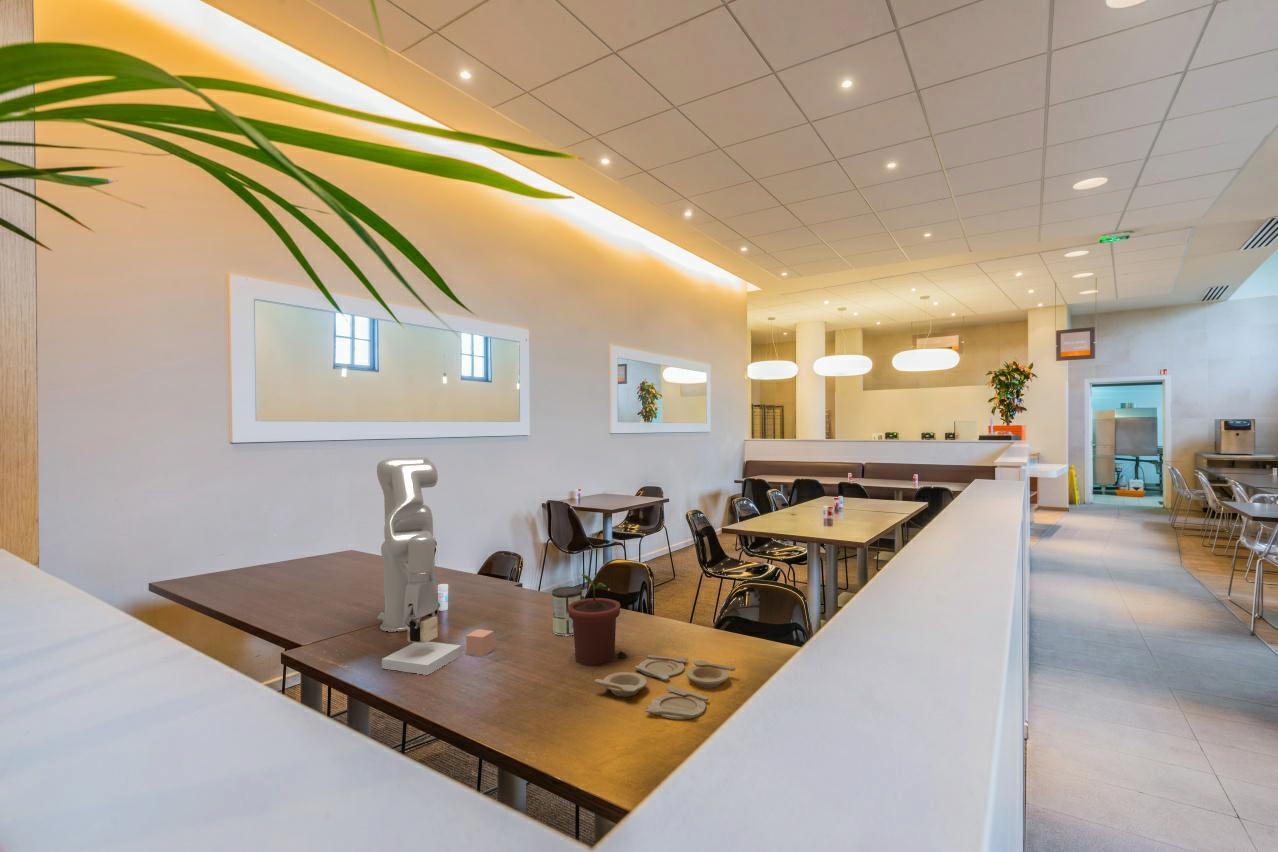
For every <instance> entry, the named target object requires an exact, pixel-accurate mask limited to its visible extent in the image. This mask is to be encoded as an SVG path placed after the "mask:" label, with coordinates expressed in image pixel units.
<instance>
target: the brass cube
mask: <svg viewBox="0 0 1278 852" xmlns="http://www.w3.org/2000/svg"><path fill="white" fill-rule="evenodd" d="M415 621H416V619H414V622H415ZM418 628H420V641H419V642H417V643H426V642H431V640H434V639H436V638H438V637H439V636H438V635H439V633H438V616H436V617H435V616H423V617H421V618H420V622H419V626H418ZM407 629H408V630H407V642H409V643H415V641H410V628H408V625H407Z"/></svg>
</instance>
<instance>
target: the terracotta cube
mask: <svg viewBox="0 0 1278 852" xmlns="http://www.w3.org/2000/svg"><path fill="white" fill-rule="evenodd" d="M494 633H495V631H494V630H489V629H488V630H487V629H479V628H478V629H475V630H473V631H471V632H470V633H468V634H467V635H465V636H466V637H465V640H466V641H465V642H466V643H465V644H466V646H465V647H466V649H465V650H466V652H465V653H466V656H475V657H482V656H484V657H485V656H486V654H487V655H488V654H490V653H491V652H493V651H494V650H495V634H494ZM492 650H493V651H492ZM489 652H490V653H489Z"/></svg>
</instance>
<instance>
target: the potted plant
mask: <svg viewBox="0 0 1278 852" xmlns="http://www.w3.org/2000/svg"><path fill="white" fill-rule="evenodd" d="M581 576H582V577H583V578H584V579H585V580H586V581H587V582H588V583H589V584H591V585H592V587H593V593H592V594H593V598H584V599H583V598H582V600H578V601H575V602H572V603H571V604H569V606H568V612H569V617H570V618H571V619H572V620H573V631H574V636H573V640H574V642H573V643H574V654H575V661H576V662H577V663H578V664H579V663H580V665H582V664H583V666H588V667H597V666H604V665H607V664H610V663H612V662H614V660H615V654H616V653H615V650H616V649H615V648H616V633H617V632H616V627H617V618H618V617H619V616H620V614H621V603H620V602H619V601H618V600H614V599H611V598H604V597H596V588H598V589H599V588H606V587H607V586H606V585H605V584H604V583H602V582H598V583H597V586H595V584H594V582H592V578H591V577H589V576H588V574H582V573H581ZM616 656H617V657H616V659H617V660H626V659H627V658H628V654H627V653H625V652H623V651H622V650H620V651H619V652H618V653H617V654H616Z"/></svg>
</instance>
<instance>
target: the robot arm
mask: <svg viewBox="0 0 1278 852" xmlns="http://www.w3.org/2000/svg"><path fill="white" fill-rule="evenodd" d="M436 467H437V466H436V465H435V464H434V463H433V461H431V460H430V459H429V458H427V457H395V458H387V459H382V460H380V461H379V462H378V463H377V466H376V476H377V479H378V483H379V486H380V487H381V489H382V494H383V499H384V529H383V533H384V534H383V535H384V541H383V542H382V544H381V548H380V552H381V559H382V566H383V577H384V578H383V580H384V581H383V582H384V583H383V584H384V611H383V612H380V613H379V614H378V615H377V617H376V618H377V620H379V621H381V620H382V623H381V624H380V627H379V629H380V630H381V631H382V632H386V631H388V632H387V633H397V632H396V631H398V632H404V631H408V629H407V625H408V628H410V641H415V642H419V641H420V628H418V626H419V622H420V618H421V617H423V616H435V617H437V615H438V611H439V609H440V607H441V603H440V602H439V600H438V599H439V597H438V587H437V582H436V574H435V572H436V570H435V569H436V567H435V564H436V563H435V561H436V560H435V549H436V537H435V536H434V523H433V521H434V519H433V513H432V510H431V508H430V506H428V505H426V504H424V497H423V492H422V488H423V489H426V488H433V487H435V486H436V485H437V483H438V478H439V477H438V475H439V474H438V470H437V468H436ZM406 565H407V566H406ZM414 619H416V621H415V622H414ZM415 642H414V643H415Z"/></svg>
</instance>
